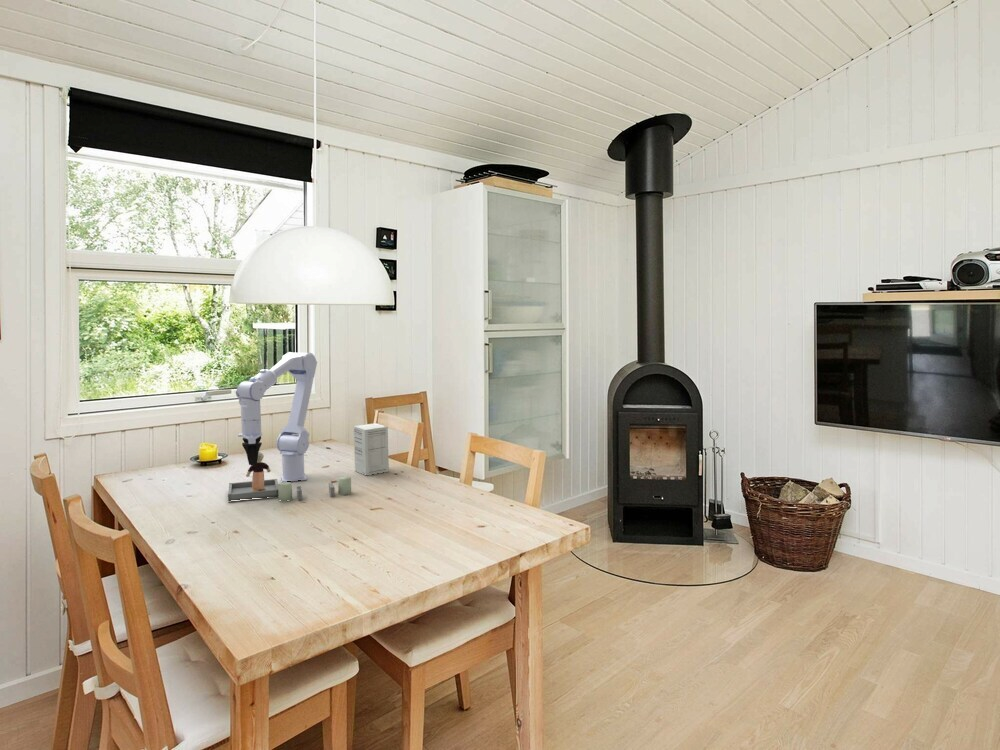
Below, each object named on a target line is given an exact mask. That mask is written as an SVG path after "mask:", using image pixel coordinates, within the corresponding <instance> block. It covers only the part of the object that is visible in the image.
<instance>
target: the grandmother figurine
mask: <svg viewBox="0 0 1000 750" xmlns="http://www.w3.org/2000/svg"><path fill="white" fill-rule="evenodd" d="M264 457H265V455H264V454H263V453H262V452H261V451H259V453H258V459H257V464H256V465H249V466H250V467H249V468H248V469H247V472H246V474H245V477H247V478H248V477H250V475H251V473H252V479H251V481H252V489H253V490H252V491H251V492H254V491H258V490H259V491H264V490H266V489H265V488H264V480H265V471H264V470H266V472H267V473H270V472H271V469H270V466H269V465H268V464H267V463H266V462H263V459H264Z"/></svg>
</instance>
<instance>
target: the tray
mask: <svg viewBox="0 0 1000 750" xmlns="http://www.w3.org/2000/svg"><path fill="white" fill-rule="evenodd" d="M278 484H279V482H278V479H277V478H272V479H271V478H270V479H264V488H265V489H266V490H264V491H259V490H258V491H254V492H251V491H252V490H253V489H252V480H251V481H240V482H229V484H228V490H227V491H228V492H227V493H228V494H227V500H228V501H231V500H240V499H252V498H267V497H277V498H279V497H278V496H279V493H278ZM267 499H268V498H267ZM228 501H227V502H228Z"/></svg>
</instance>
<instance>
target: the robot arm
mask: <svg viewBox="0 0 1000 750" xmlns="http://www.w3.org/2000/svg"><path fill="white" fill-rule="evenodd" d="M317 364H318V361H317V359H316V357H315V355H314V354H313V352H291V351H288V352H286V353H285V354H283V355H282V357H281V359H280V360H279V361H278V362H277V363H276V364H275V365H273V366H272V367H271V368H270V369H262V368H261V369H260V370H259V373H257V374H256V375H254V376H251V377H250V378H249V380H248V381H241V382H240V383H239V384H238V386H237V388H236V391H235V394H236V395H235V396H236V397H237V398H238V404H239V405H240V415H241V416H240V417H241V418H240V419H241V420H240V421H241V422H240V423H241V433H238V434H237V437H238V438H240V437H241V438H242V441H243V442H242V444H241V445H242V447H243V449H244V451H245V454H246V457H247V462H248V465H249V466H251V465H256V464H257V459H258V453H259V452H260V449H261V447H262V444H263V442H261V439H262V436H263V432H262V412H261V400H262V399H263V398H264V395H265V393H266V391H267V390H269V389H271V388H272V386H274V385H275V384H276V382H277V378H279V377H281V376H282V375H284V374H285V373H287V372H288V373H289V374H290V375H291V376H292V377H293V378H294V379H295V380H296V384H295V389H294V394H293V397H292V398H293V399H292V403H291V408H290V412H289V416H288V423H287V425H285V426H284V427H283V428H281V429H280V432H279V435H278V436H277V438H276V441H275V442H276V443H275V444H276V445H275V446H276V449H277V450H278V451H279V454H280V455H281V460H282V462H281V463H282V464H281V465H282V467H281V468H282V474H280V479H281V478H282V479H281V483H283V482H287V481H291V482H299V481H298V480H301V481H306V480H307V479H308V478H307V476H306V473H305V454H306V452H307V451H308V449H309V446H310V440H309V437H310V433H309V431H308V430H307V429H306V428H305V421H306V418H307V413H308V408H309V403H310V399H311V394H312V388H313V384H314V378H315V375H316V369H317Z"/></svg>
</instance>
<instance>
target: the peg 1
mask: <svg viewBox="0 0 1000 750" xmlns="http://www.w3.org/2000/svg"><path fill="white" fill-rule="evenodd" d="M337 480H338V481H337V484H338V485H337V487H338V491H337V492H338V493H339V494H341V495H340V496H348V495H347V494H349V495H351V494H352V477H351V476H339V477H338V479H337ZM350 493H351V494H350ZM339 494H338V495H339Z"/></svg>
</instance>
